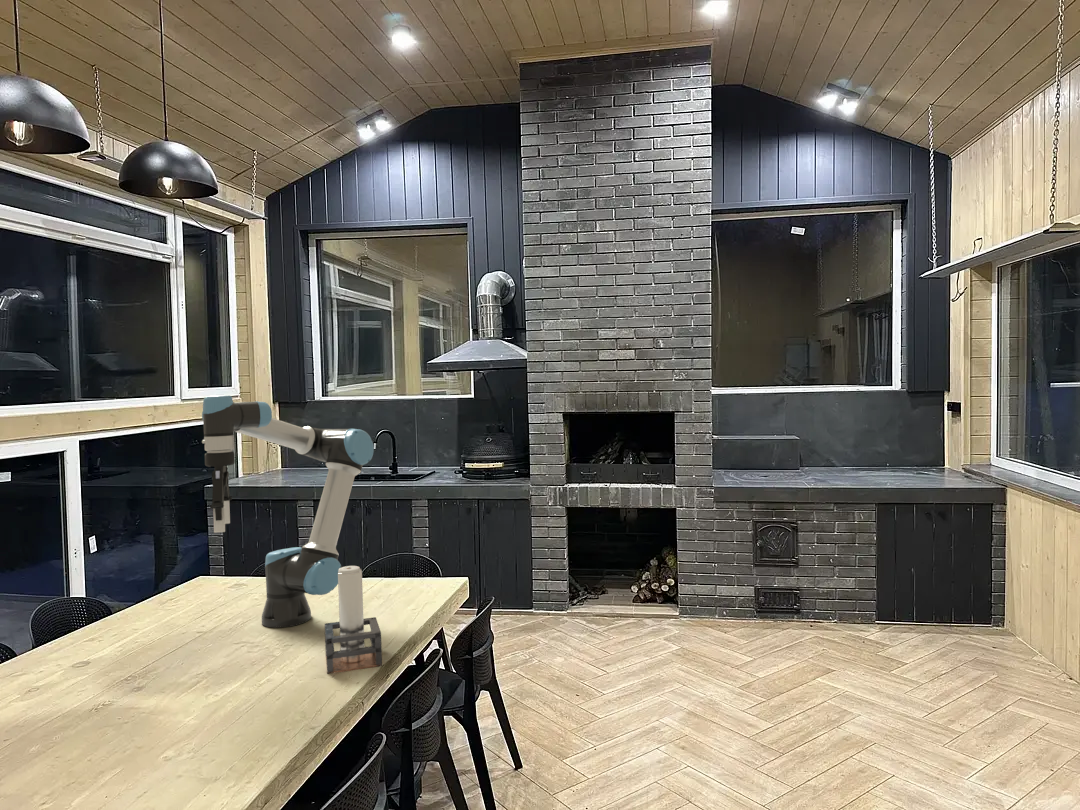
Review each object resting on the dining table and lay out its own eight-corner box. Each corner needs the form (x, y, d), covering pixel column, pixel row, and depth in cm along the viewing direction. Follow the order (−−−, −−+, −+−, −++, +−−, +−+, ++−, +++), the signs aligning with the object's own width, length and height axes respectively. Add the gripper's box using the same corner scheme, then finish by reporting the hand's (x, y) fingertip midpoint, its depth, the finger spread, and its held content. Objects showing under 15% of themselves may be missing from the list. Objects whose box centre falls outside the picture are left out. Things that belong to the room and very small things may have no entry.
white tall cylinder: (358, 663, 190) (355, 570, 189) (336, 662, 191) (332, 570, 191) (369, 654, 196) (366, 565, 196) (347, 653, 198) (344, 564, 197)
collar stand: (325, 655, 198) (324, 623, 198) (376, 648, 203) (375, 617, 202) (327, 674, 185) (326, 639, 185) (382, 666, 189) (380, 632, 189)
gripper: (210, 449, 207) (212, 521, 207) (198, 455, 183) (201, 537, 184) (238, 447, 209) (240, 519, 210) (229, 453, 186) (232, 534, 186)
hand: (222, 527), depth 197 cm, fingers open, 13 cm apart
